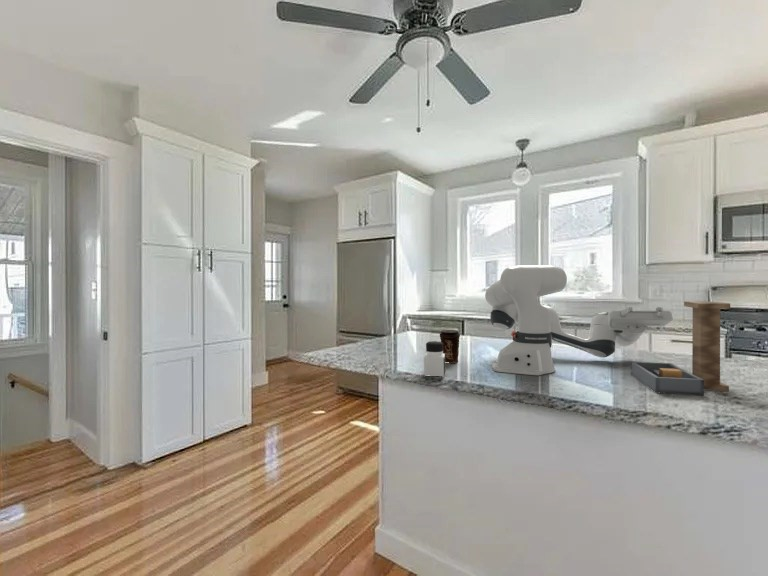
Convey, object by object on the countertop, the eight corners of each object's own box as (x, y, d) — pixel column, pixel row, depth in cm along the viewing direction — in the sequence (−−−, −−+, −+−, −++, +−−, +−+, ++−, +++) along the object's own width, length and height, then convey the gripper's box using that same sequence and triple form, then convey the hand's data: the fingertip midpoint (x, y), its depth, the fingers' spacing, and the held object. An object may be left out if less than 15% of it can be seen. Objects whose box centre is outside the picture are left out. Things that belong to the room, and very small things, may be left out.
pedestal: (697, 389, 117) (698, 303, 117) (683, 382, 126) (684, 301, 125) (729, 391, 115) (730, 303, 114) (713, 383, 124) (713, 301, 123)
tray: (655, 392, 115) (655, 377, 115) (630, 374, 136) (630, 361, 136) (703, 395, 112) (704, 379, 112) (670, 376, 133) (670, 363, 133)
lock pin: (662, 386, 118) (662, 370, 118) (646, 374, 133) (646, 360, 133) (682, 387, 117) (682, 371, 117) (663, 375, 131) (663, 360, 131)
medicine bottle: (444, 377, 137) (443, 343, 137) (424, 376, 138) (423, 343, 138) (445, 372, 144) (444, 340, 144) (426, 372, 145) (425, 339, 145)
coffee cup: (439, 359, 166) (439, 329, 166) (459, 359, 165) (459, 329, 165) (440, 364, 158) (439, 332, 157) (461, 364, 157) (460, 332, 156)
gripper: (666, 332, 146) (681, 317, 135) (605, 331, 152) (614, 316, 140) (663, 316, 149) (677, 301, 138) (603, 316, 155) (612, 301, 143)
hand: (645, 309), depth 139 cm, fingers open, 8 cm apart
